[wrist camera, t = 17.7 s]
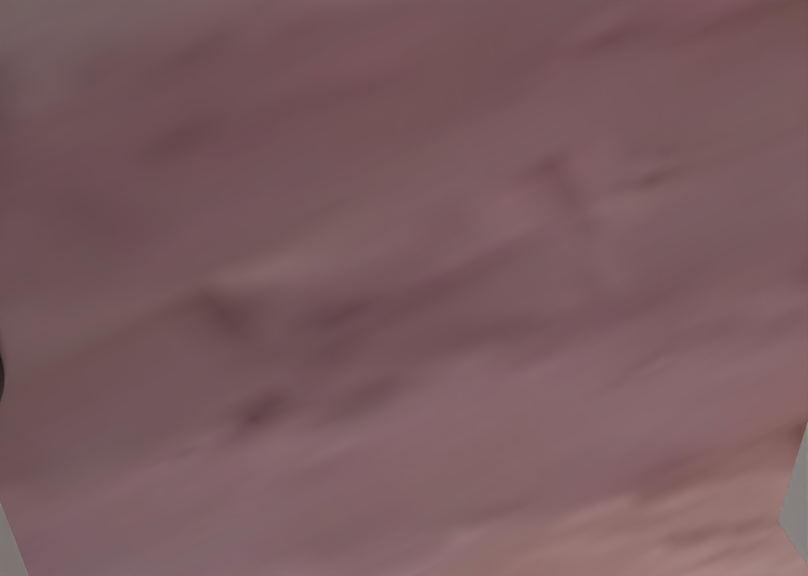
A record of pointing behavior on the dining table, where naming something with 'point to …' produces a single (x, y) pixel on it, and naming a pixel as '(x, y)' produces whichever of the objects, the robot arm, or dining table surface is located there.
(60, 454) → the dining table surface
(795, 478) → the robot arm
